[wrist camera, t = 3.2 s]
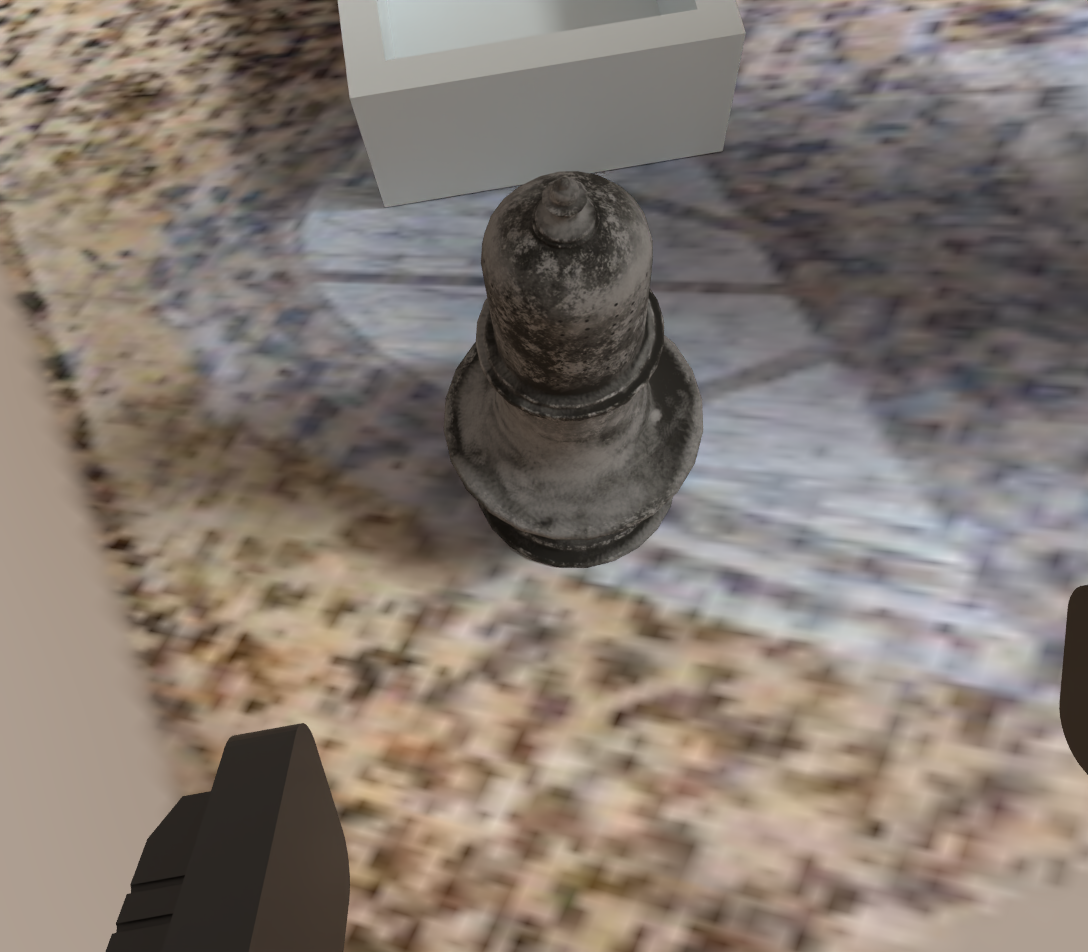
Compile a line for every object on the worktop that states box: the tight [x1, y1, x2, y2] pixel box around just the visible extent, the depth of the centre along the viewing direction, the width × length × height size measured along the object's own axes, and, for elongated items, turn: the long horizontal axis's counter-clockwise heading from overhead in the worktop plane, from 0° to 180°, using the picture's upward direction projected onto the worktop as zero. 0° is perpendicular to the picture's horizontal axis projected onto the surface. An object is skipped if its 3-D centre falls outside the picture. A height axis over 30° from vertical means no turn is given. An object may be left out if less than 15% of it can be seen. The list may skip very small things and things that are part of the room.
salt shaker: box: [444, 171, 703, 568], centre depth 20 cm, size 6×6×12 cm
